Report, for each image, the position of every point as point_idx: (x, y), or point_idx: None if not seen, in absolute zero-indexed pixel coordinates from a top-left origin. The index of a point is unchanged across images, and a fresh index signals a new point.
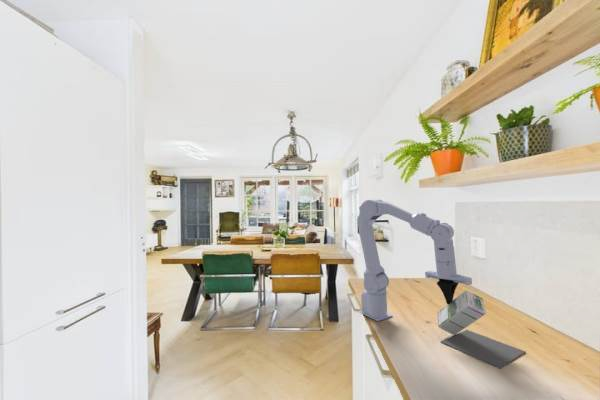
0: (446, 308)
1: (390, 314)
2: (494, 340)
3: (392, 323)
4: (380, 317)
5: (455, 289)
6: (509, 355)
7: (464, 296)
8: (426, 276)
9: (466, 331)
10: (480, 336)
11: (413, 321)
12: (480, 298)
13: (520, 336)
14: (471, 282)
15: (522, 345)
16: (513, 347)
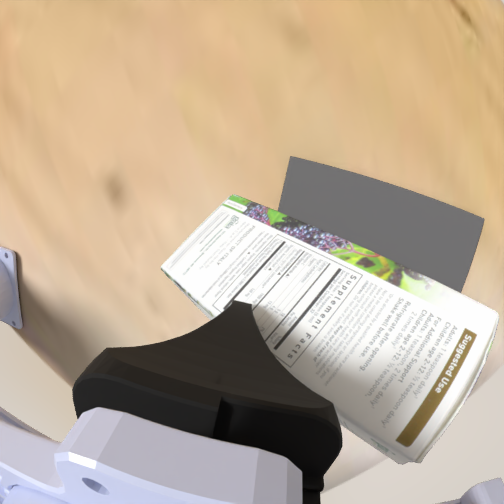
0: None
1: (6, 252)
2: (408, 196)
3: (50, 309)
4: (11, 307)
5: (284, 370)
6: (450, 285)
7: (391, 455)
8: None
9: (296, 178)
10: (358, 193)
11: (76, 234)
12: (489, 343)
13: (456, 81)
14: (499, 497)
15: (473, 163)
16: (460, 213)
